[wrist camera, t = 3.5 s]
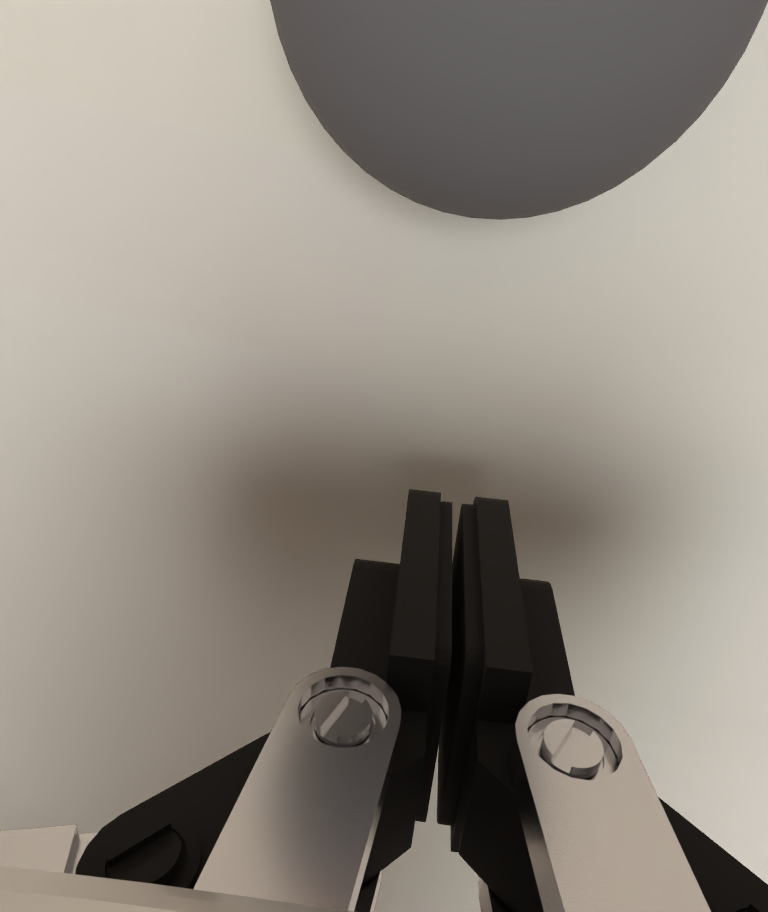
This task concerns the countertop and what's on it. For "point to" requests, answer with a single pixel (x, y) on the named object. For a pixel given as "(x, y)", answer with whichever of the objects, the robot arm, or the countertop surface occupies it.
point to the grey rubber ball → (510, 90)
